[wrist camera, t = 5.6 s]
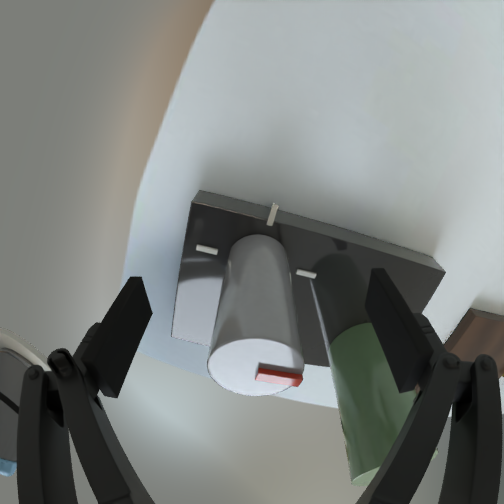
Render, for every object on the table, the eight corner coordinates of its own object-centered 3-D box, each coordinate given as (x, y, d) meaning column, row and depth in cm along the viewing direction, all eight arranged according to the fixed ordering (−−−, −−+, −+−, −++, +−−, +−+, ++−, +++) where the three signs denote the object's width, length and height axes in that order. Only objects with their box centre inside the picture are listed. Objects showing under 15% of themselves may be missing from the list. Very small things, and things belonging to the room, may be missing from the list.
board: (397, 397, 31) (400, 406, 30) (469, 307, 24) (476, 316, 23) (478, 391, 33) (481, 397, 32) (533, 323, 26) (538, 328, 25)
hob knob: (221, 278, 20) (199, 392, 11) (235, 226, 18) (216, 332, 10) (276, 292, 20) (284, 406, 12) (296, 243, 18) (321, 353, 10)
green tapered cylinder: (316, 365, 24) (334, 489, 13) (346, 317, 21) (387, 458, 11) (371, 371, 25) (401, 479, 14) (403, 327, 22) (455, 443, 11)
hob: (177, 318, 25) (170, 338, 22) (202, 174, 19) (194, 184, 17) (372, 354, 27) (379, 373, 24) (438, 246, 21) (453, 261, 18)
